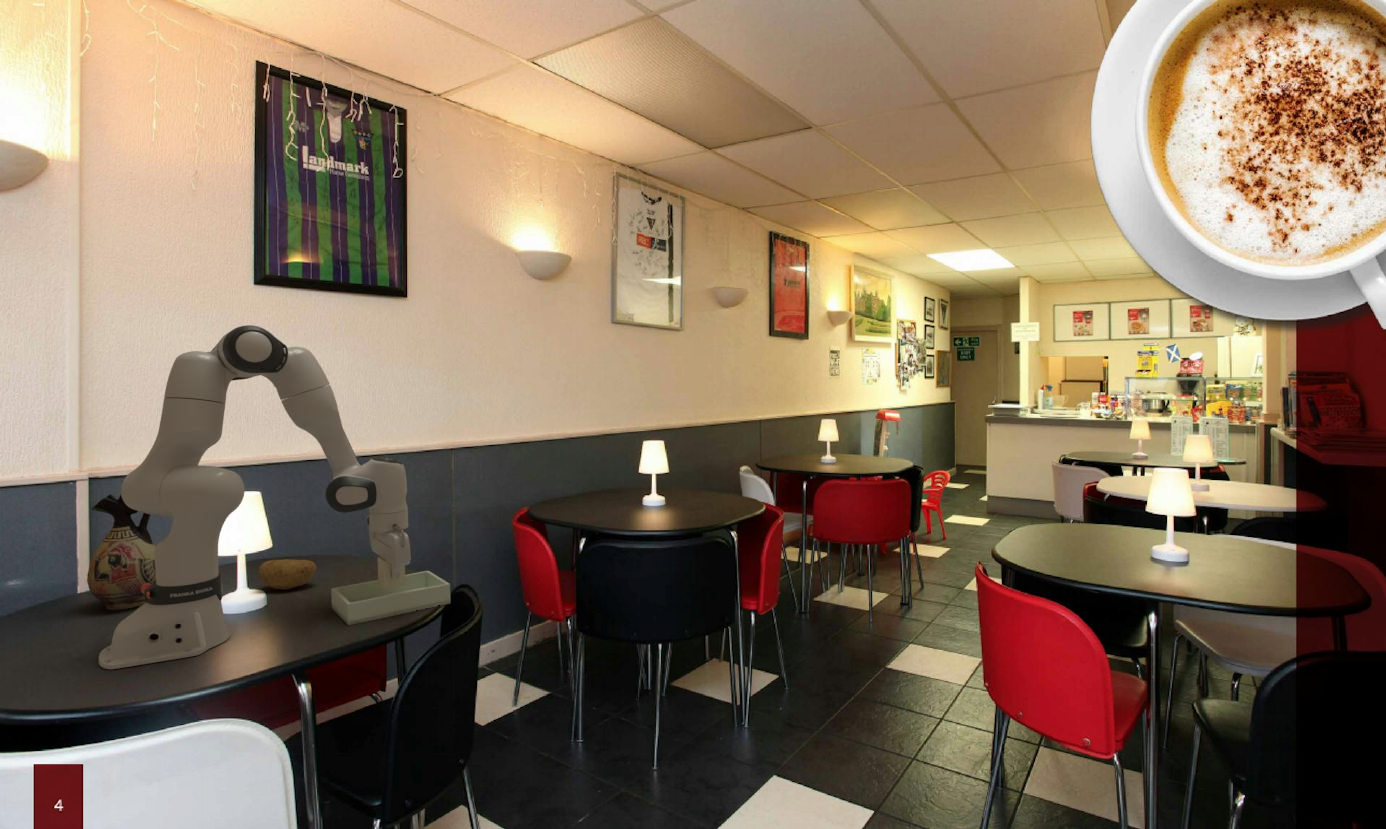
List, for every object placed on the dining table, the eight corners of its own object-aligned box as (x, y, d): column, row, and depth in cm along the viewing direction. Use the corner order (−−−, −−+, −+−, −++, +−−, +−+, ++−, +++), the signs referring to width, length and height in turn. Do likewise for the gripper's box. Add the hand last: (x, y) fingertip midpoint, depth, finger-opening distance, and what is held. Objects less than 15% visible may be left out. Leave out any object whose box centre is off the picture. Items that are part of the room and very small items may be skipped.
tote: (348, 625, 163) (347, 604, 162) (331, 608, 175) (331, 588, 174) (450, 603, 178) (450, 584, 178) (428, 588, 190) (428, 570, 190)
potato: (310, 592, 187) (309, 562, 187) (252, 595, 185) (251, 565, 184) (322, 581, 197) (321, 553, 196) (267, 584, 194) (266, 556, 194)
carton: (384, 589, 173) (383, 561, 172) (378, 584, 177) (377, 557, 176) (405, 585, 176) (404, 557, 176) (398, 580, 180) (397, 553, 179)
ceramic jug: (78, 619, 168) (71, 495, 166) (101, 599, 182) (95, 485, 180) (165, 608, 174) (158, 489, 173) (181, 591, 188) (175, 480, 187)
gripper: (416, 526, 169) (418, 582, 170) (389, 513, 185) (391, 564, 186) (389, 531, 165) (391, 588, 166) (364, 516, 181) (366, 569, 182)
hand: (391, 575), depth 176 cm, fingers closed on carton, 5 cm apart
